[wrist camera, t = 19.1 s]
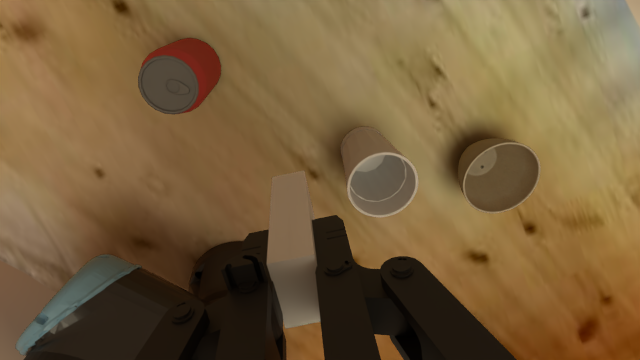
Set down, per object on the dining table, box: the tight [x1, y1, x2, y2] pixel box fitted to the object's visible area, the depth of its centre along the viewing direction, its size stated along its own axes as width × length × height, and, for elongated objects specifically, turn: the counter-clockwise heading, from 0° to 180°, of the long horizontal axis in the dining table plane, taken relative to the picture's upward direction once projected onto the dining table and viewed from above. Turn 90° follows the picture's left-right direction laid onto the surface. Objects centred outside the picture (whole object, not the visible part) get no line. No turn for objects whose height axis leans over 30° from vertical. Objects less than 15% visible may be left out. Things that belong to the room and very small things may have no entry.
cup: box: [341, 127, 418, 217], centre depth 49 cm, size 8×8×12 cm
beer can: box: [138, 38, 221, 114], centre depth 43 cm, size 7×7×12 cm
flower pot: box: [458, 138, 540, 213], centre depth 54 cm, size 10×10×7 cm
